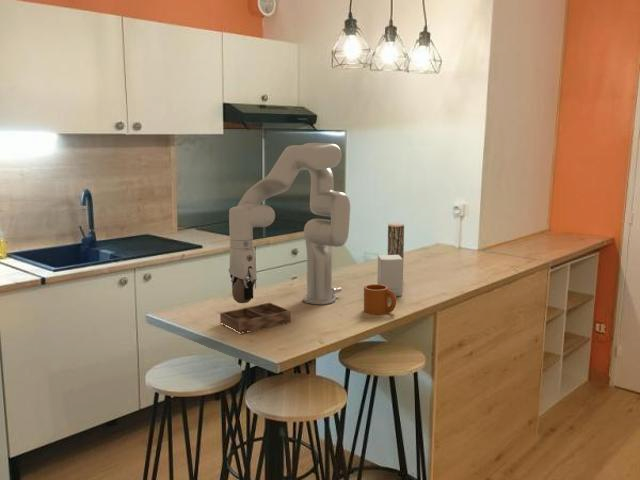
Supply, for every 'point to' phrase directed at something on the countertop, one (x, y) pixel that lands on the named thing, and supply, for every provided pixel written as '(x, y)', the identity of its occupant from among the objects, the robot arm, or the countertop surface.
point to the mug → (378, 299)
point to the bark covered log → (396, 239)
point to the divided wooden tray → (255, 317)
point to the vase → (239, 291)
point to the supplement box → (391, 272)
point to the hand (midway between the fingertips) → (242, 296)
